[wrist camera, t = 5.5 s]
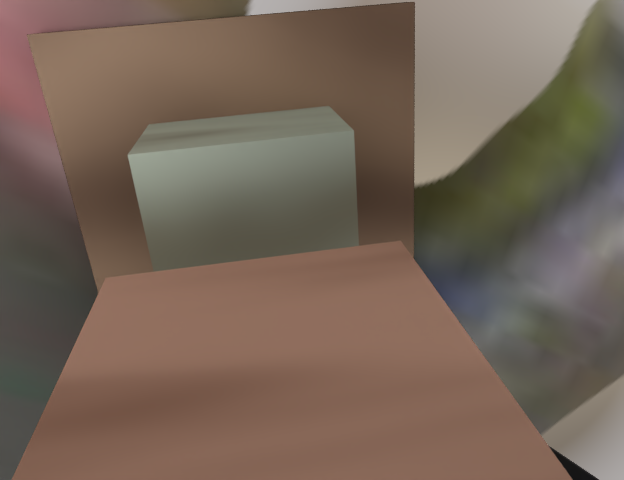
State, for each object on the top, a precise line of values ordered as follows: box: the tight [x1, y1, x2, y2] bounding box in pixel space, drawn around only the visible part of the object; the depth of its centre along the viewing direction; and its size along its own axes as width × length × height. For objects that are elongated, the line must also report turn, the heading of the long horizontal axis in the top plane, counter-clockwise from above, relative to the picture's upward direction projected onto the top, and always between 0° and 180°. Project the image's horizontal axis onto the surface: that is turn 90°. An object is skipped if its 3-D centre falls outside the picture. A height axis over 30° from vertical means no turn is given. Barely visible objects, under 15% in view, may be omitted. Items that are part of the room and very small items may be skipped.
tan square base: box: [27, 2, 415, 293], centre depth 18 cm, size 12×12×5 cm
